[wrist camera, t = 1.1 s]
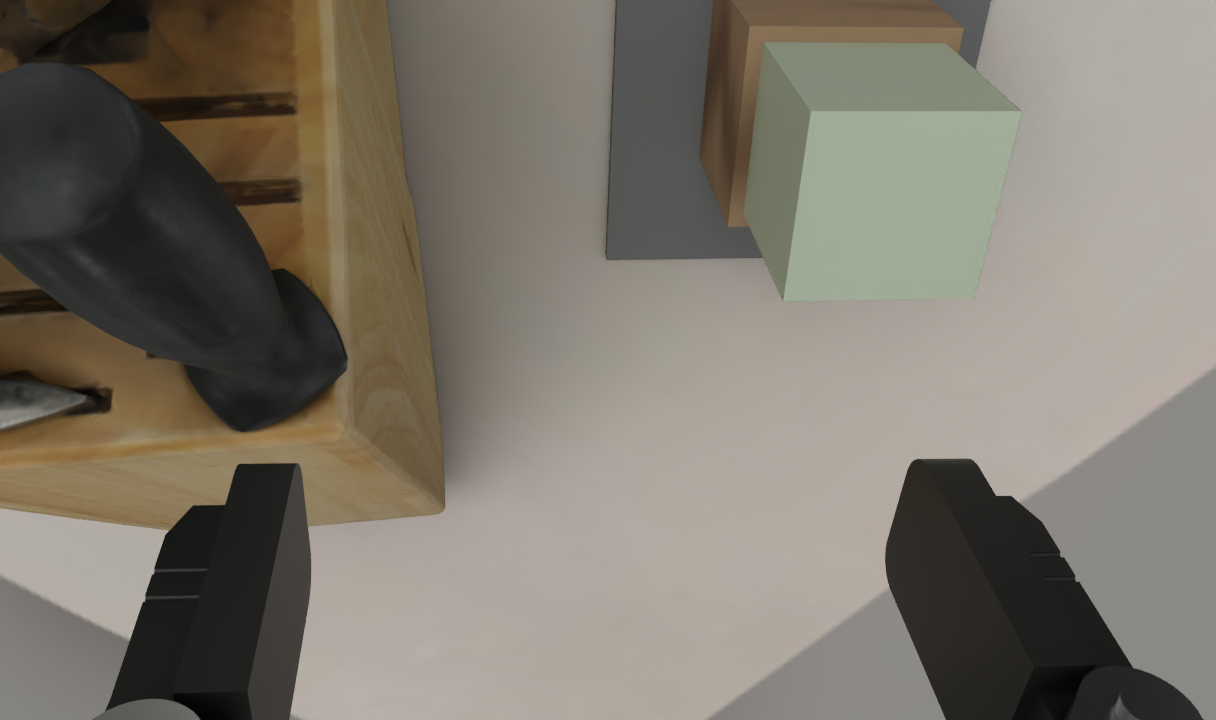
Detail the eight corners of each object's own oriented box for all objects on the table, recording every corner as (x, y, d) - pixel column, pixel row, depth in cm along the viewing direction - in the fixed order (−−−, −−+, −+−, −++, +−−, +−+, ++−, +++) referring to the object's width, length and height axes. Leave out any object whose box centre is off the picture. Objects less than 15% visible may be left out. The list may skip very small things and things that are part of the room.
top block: (763, 42, 35) (810, 111, 30) (945, 43, 35) (1022, 111, 30) (743, 213, 38) (783, 301, 33) (910, 211, 39) (974, 298, 34)
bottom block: (715, -25, 39) (749, 26, 34) (903, -22, 40) (964, 28, 35) (699, 157, 43) (728, 226, 38) (871, 156, 44) (921, 224, 39)
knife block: (346, -472, 32) (-196, -882, 6) (452, 469, 51) (426, 1305, 26) (-59, -472, 31) (-2628, -942, 5) (206, 486, 51) (-73, 1368, 25)
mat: (622, -167, 37) (624, -164, 37) (1020, -157, 38) (1025, -154, 38) (605, 254, 46) (606, 259, 45) (928, 249, 47) (933, 255, 47)
